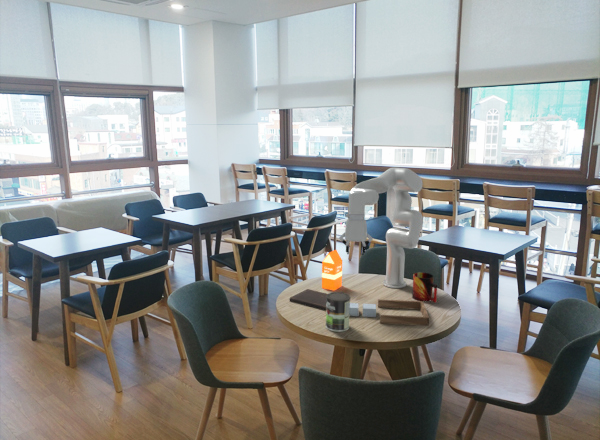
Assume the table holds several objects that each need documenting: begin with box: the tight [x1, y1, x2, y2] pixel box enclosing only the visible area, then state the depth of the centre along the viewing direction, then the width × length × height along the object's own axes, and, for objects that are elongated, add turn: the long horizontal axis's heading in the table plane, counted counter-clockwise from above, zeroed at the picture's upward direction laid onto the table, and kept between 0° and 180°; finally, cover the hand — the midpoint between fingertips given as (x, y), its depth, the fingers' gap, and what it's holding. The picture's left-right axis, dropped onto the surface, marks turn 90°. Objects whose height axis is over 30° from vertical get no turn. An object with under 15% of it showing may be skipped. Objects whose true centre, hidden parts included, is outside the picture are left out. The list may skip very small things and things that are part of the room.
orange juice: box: [321, 249, 343, 292], centre depth 252 cm, size 8×9×20 cm
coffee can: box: [325, 291, 351, 333], centre depth 202 cm, size 10×10×14 cm
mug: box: [411, 272, 438, 303], centre depth 235 cm, size 10×14×12 cm
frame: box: [377, 299, 430, 327], centre depth 215 cm, size 20×21×4 cm
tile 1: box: [349, 302, 360, 317], centre depth 218 cm, size 6×6×4 cm
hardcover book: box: [289, 288, 328, 312], centre depth 233 cm, size 16×23×2 cm
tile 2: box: [362, 303, 377, 318], centre depth 217 cm, size 6×6×4 cm
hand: (355, 253), depth 224 cm, fingers open, 6 cm apart
